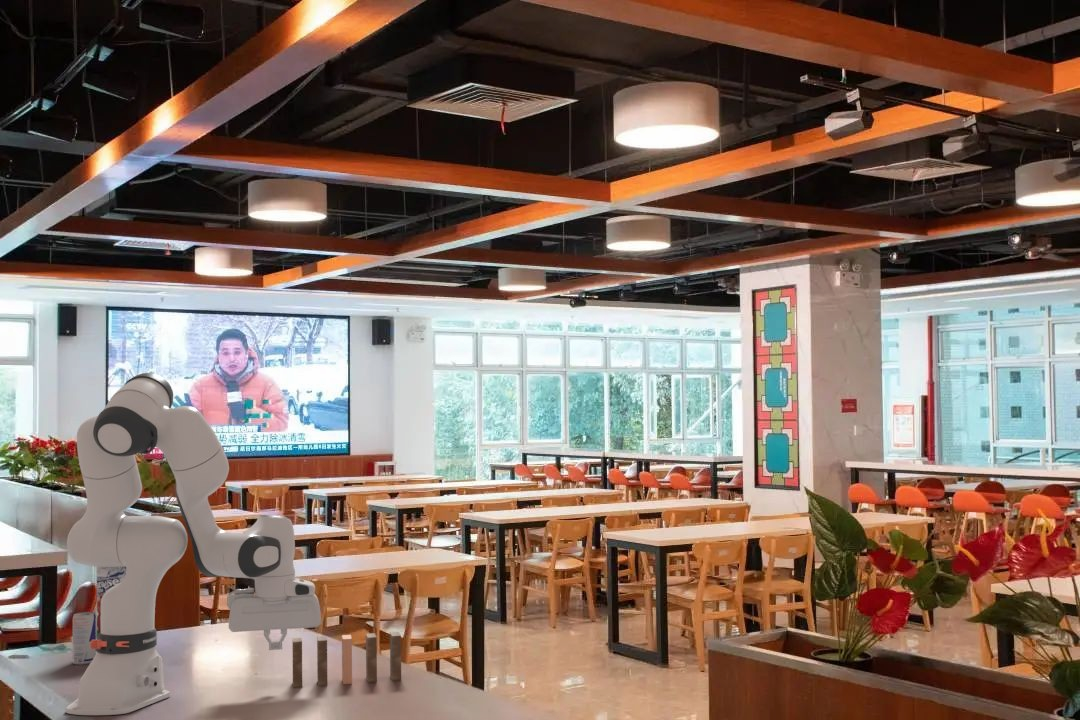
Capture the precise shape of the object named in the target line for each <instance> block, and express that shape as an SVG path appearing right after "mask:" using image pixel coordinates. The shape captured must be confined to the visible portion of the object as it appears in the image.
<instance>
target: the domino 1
mask: <svg viewBox="0 0 1080 720" xmlns="http://www.w3.org/2000/svg"><path fill="white" fill-rule="evenodd" d="M302 639H303V638H302V637H294V638H292V642H291V643H292V688H293V689H296V688H297V689H298V688H303V640H302Z"/></svg>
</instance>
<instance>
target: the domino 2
mask: <svg viewBox="0 0 1080 720" xmlns="http://www.w3.org/2000/svg"><path fill="white" fill-rule="evenodd" d="M316 645H317V646H316V647H317V648H316V649H317V650H316V657H317V658H316V659H317V661H316V662H317V663H316V667H317V670H316V673H317V676H316V677H317V686H318V687H323V686H325V687H327V686H328V639H327V636H326V635H325V636H316Z"/></svg>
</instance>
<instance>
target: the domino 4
mask: <svg viewBox="0 0 1080 720" xmlns="http://www.w3.org/2000/svg"><path fill="white" fill-rule="evenodd" d="M377 642H378V641H377V635H376V633H375V632H373V633H365V661H366V662H365V666H366V667H365V671H366V672H365V673H366V677H365V678H366V681H367V683H377V682H378V666H377V665H378V663H377V662H378V658H377V656H378V651H377V647H378V646H377Z"/></svg>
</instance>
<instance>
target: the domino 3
mask: <svg viewBox="0 0 1080 720" xmlns="http://www.w3.org/2000/svg"><path fill="white" fill-rule="evenodd" d="M352 639H353V638H352V635H351V634H343V635H342V634H341V679H342V680H341V681H342V685H352V684H353V652H352V651H353V641H352Z"/></svg>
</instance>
